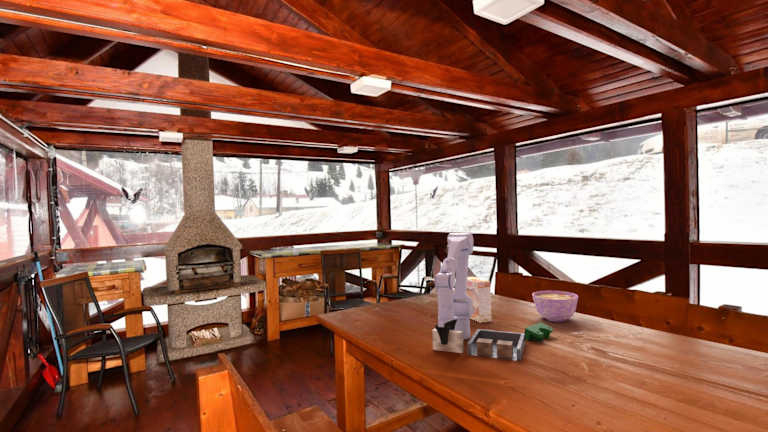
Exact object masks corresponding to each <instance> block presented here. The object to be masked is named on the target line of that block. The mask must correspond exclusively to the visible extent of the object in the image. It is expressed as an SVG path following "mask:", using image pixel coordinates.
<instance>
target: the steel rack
mask: <svg viewBox="0 0 768 432" xmlns="http://www.w3.org/2000/svg"><path fill="white" fill-rule="evenodd" d="M479 338H482V339H492V340H493V353H492V355H491V356H489V355H480V354H477V340H478V339H479ZM498 340H501V341H511V342H513V356H512V358H505V357H497V342H498ZM525 346H526V340H525V333H523V332H514V331H512V332H511V331H502V330H493V329H482V328H481V329H480V328H477V329H476V330H475V332H474V333H473V335H472V336H471V337H470V338H469V339H468V342H467V355H468V356H476V357H484V358H493V359H500V360H508V361H515V362H521V361H522V357H523V353H524V349H525Z"/></svg>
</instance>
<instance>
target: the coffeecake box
mask: <svg viewBox="0 0 768 432" xmlns="http://www.w3.org/2000/svg"><path fill="white" fill-rule="evenodd" d="M467 295H469V296H470V297H471V298H472V300H473V315H472V316H471V317H470V319H471V320H472V321H474V320H475V322H476V321H477V323H478V322H479V323H478V324H482V322H484V323H488V322H489V323H490V322H492V299H491V281H490V280H488V279H484V278H480V277H476V276H467ZM462 302H467V301H462Z"/></svg>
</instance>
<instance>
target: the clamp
mask: <svg viewBox="0 0 768 432" xmlns="http://www.w3.org/2000/svg"><path fill="white" fill-rule="evenodd" d="M553 332H554V327H552V326H550V325H549V324H548V325H547V324H545V323H544V322H542V321H540V322H537V323H535V324H532V325H530V326H527V327H524V333H525V341H527V342H528V341H530V340H534V341H538V342H543V340H544V338H545V339H550V335H551V334H552V333H553Z"/></svg>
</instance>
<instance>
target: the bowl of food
mask: <svg viewBox="0 0 768 432" xmlns="http://www.w3.org/2000/svg"><path fill="white" fill-rule="evenodd" d="M531 295H532V299H533V301H534V306H535V309H536V311H537V313H538V315H540V316H541V317H542V318H544V319H546V320H547V321H550V322H555V323H556V322H557V323H559V322H564V321H566V320H568V319H571V318H572V317H573V316H574V315H575V312H576V310H577V304H578V300H579V296H578V294H576V293H573V292H569V291H561V290H540V291H536V292H535V291H533V293H532V294H531Z"/></svg>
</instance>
